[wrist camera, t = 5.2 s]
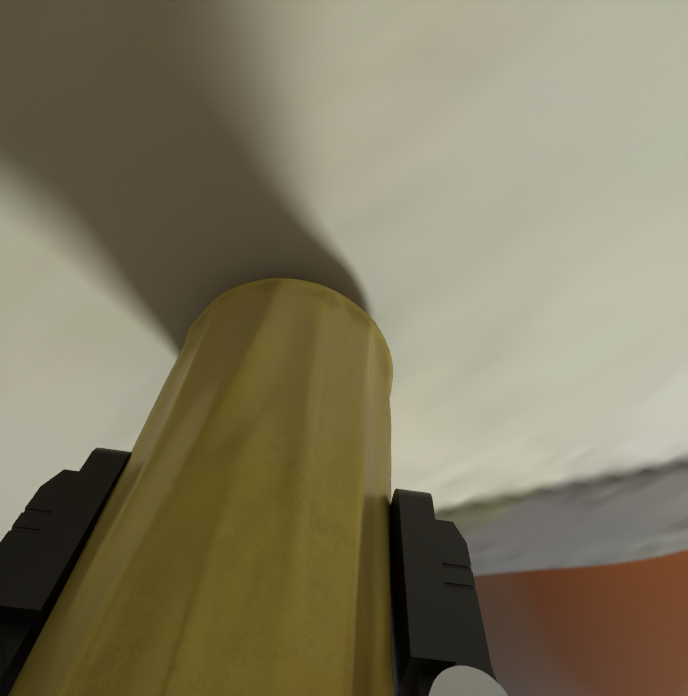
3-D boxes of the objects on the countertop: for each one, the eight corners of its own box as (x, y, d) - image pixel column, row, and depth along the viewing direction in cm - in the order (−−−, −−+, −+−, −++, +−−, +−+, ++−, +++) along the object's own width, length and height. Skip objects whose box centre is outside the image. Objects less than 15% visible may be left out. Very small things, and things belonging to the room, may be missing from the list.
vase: (215, 240, 14) (-913, 1786, 2) (428, 320, 15) (739, 1675, 3) (165, 415, 17) (-374, 1446, 5) (347, 472, 18) (311, 1453, 5)
